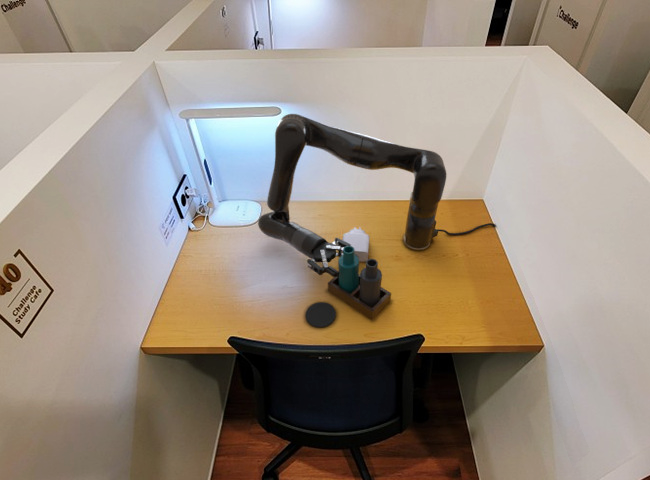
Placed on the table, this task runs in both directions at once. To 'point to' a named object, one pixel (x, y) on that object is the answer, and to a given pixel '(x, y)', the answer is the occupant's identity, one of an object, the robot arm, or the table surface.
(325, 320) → the coaster
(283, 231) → the robot arm
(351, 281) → the teal bottle
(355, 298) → the caddy
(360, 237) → the charger
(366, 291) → the charcoal bottle
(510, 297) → the table surface
